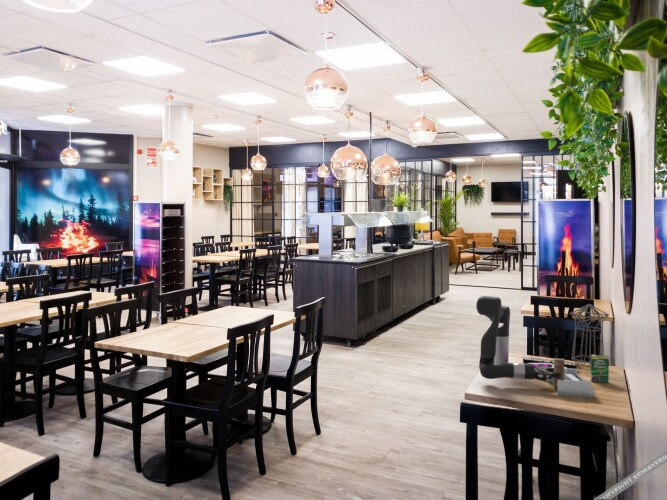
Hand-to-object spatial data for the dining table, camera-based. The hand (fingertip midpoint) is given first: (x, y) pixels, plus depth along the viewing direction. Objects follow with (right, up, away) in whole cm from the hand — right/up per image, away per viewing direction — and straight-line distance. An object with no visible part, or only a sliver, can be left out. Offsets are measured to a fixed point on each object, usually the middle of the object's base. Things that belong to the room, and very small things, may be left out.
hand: (558, 372), depth 251 cm
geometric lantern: (+32, -6, +38) cm, 50 cm away
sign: (+6, -7, +28) cm, 29 cm away
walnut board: (0, -8, 0) cm, 8 cm away
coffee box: (+25, -7, +12) cm, 29 cm away
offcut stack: (+6, -8, -1) cm, 10 cm away
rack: (+4, -8, 0) cm, 9 cm away
